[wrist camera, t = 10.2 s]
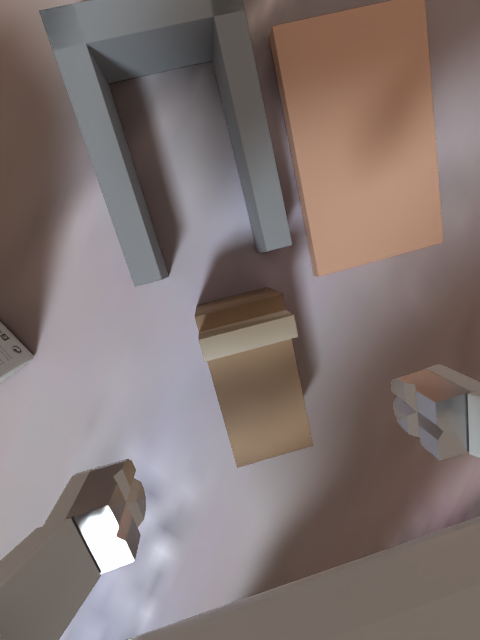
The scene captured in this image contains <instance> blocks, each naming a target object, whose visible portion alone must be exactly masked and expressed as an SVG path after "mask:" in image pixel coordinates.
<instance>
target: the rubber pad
mask: <svg viewBox="0 0 480 640" xmlns="http://www.w3.org/2000/svg"><path fill="white" fill-rule="evenodd" d="M269 40H270V45H271V50H272V56H273V61H274V66H275V71H276V77H277V82H278V87H279V92H280V98H281V103H282V108H283V114H284V119H285V124H286V129H287V135H288V140H289V145H290V151H291V156H292V161H293V166H294V172H295V177H296V182H297V187H298V193H299V198H300V203H301V209H302V214H303V219H304V224H305V230H306V235H307V240H308V246H309V251H310V256H311V261H312V267H313V272H314V276H318V277H319V276H323V275H327V274H330V273H334V272H338V271H341V270H345V269H349V268H352V267H356V266H360V265H363V264H367V263H370V262H374V261H378V260H381V259H385V258H389V257H392V256H396V255H400V254H403V253H407V252H411V251H414V250H418V249H422V248H425V247H429V246H433V245H436V244H440V243H443V229H442V216H441V203H440V189H439V176H438V163H437V150H436V137H435V123H434V110H433V97H432V84H431V71H430V57H429V44H428V31H427V18H426V5H425V0H390V1H386V2H381V3H377V4H372V5H367V6H363V7H358V8H354V9H349V10H344V11H340V12H335V13H331V14H326V15H321V16H317V17H312V18H307V19H303V20H298V21H294V22H289V23H284V24H280V25H275V26H272V29H271V32H270V36H269Z"/></svg>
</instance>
